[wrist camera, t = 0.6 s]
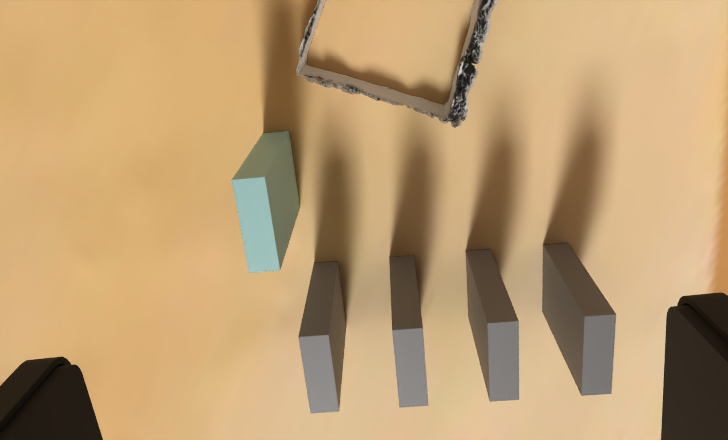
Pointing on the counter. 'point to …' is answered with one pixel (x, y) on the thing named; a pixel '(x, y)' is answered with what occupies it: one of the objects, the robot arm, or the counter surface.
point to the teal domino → (267, 201)
